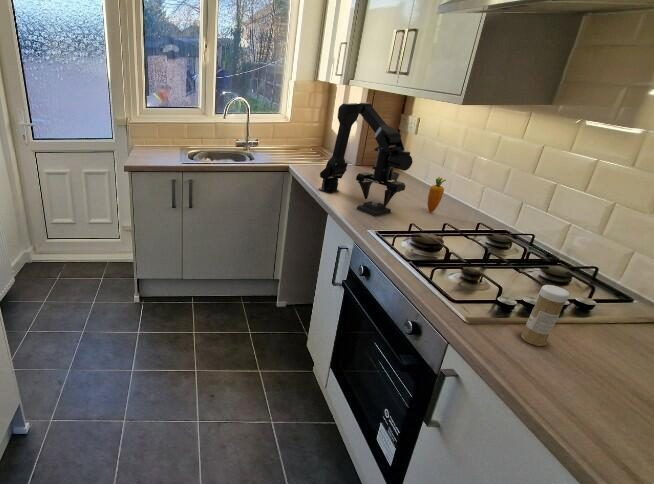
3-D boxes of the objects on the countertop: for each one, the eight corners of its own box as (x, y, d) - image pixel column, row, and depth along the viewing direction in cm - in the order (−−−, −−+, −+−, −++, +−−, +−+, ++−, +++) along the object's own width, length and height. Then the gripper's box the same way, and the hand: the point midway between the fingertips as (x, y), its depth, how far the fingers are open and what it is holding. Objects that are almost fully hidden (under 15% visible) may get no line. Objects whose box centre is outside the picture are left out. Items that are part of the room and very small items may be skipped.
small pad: (363, 206, 170) (363, 202, 169) (372, 204, 173) (373, 200, 172) (375, 210, 165) (376, 207, 165) (385, 208, 168) (386, 204, 167)
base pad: (356, 209, 171) (358, 200, 170) (371, 205, 175) (373, 196, 173) (375, 216, 164) (377, 206, 162) (390, 212, 168) (392, 203, 166)
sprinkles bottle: (521, 331, 96) (543, 281, 91) (546, 340, 94) (570, 289, 88) (519, 340, 93) (541, 289, 88) (545, 350, 90) (569, 297, 85)
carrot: (425, 209, 171) (435, 174, 165) (438, 212, 168) (449, 177, 162) (421, 212, 168) (431, 176, 162) (435, 215, 165) (445, 179, 158)
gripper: (419, 167, 157) (409, 206, 164) (377, 157, 172) (369, 193, 179) (399, 170, 153) (390, 210, 159) (358, 160, 168) (351, 196, 174)
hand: (375, 202), depth 168 cm, fingers open, 9 cm apart
